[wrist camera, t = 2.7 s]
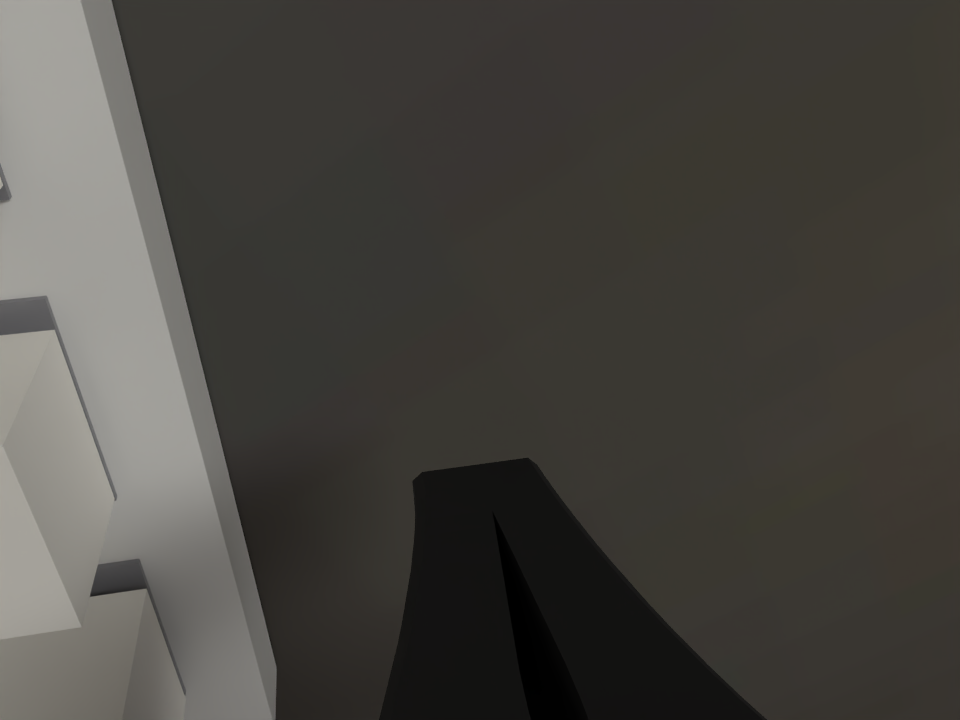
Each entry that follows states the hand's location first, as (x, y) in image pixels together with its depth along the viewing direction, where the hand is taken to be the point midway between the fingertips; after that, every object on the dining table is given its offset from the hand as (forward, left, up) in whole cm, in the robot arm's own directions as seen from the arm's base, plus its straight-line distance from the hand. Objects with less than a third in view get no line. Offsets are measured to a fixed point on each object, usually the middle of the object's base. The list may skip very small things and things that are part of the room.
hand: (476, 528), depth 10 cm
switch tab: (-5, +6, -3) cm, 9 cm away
